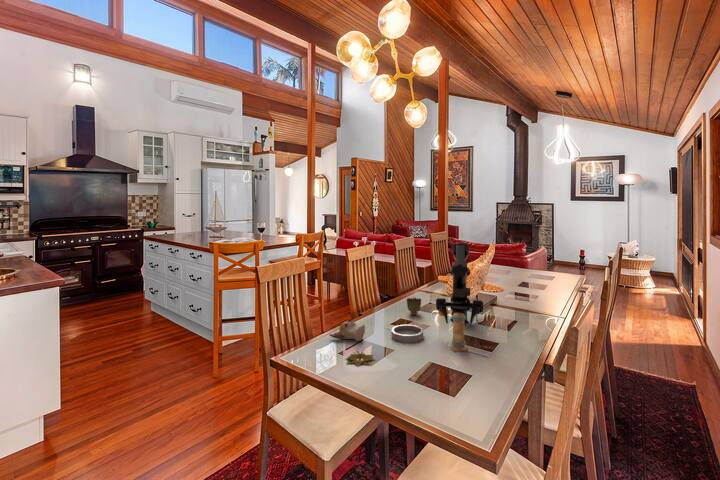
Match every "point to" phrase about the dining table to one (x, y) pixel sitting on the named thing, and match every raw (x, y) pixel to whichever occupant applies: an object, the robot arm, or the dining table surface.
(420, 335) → the round tray
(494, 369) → the dining table surface
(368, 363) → the lily flower
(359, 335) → the ceramic sculpture
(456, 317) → the disc
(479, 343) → the dining table surface
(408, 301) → the cup
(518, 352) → the dining table surface
